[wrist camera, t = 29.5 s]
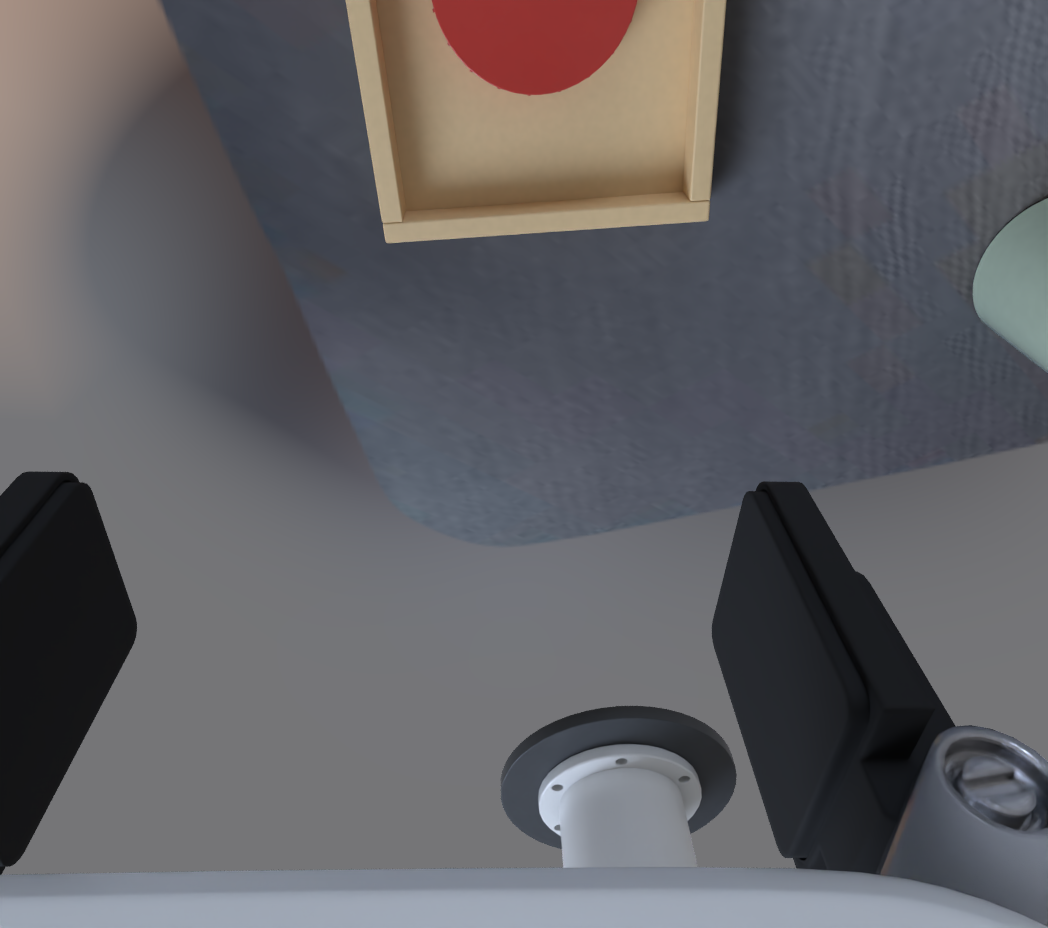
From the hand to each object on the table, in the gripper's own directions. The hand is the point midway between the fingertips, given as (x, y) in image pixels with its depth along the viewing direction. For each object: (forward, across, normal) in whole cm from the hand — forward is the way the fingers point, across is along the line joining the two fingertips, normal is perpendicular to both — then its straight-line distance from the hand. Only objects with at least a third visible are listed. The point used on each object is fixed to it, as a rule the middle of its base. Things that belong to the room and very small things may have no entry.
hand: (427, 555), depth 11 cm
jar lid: (+21, -2, -7) cm, 22 cm away
